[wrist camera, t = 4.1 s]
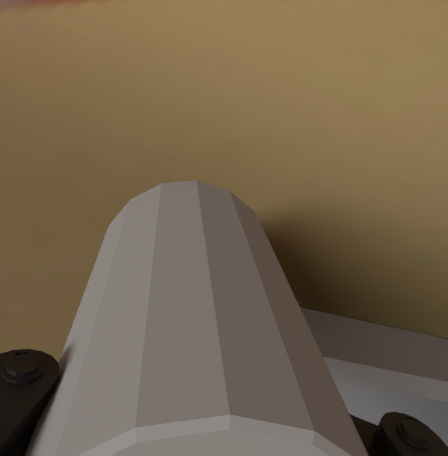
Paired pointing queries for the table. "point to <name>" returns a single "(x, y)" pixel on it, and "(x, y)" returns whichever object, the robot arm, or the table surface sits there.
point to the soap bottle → (191, 343)
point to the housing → (384, 369)
